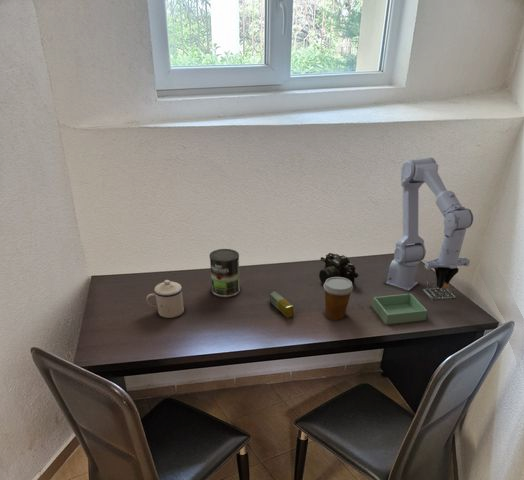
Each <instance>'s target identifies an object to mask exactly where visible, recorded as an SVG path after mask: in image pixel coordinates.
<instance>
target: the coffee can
mask: <svg viewBox="0 0 524 480" xmlns="http://www.w3.org/2000/svg"><path fill="white" fill-rule="evenodd" d="M209 262H210V277H211V292H212V294H213V295H214V296H217V297H221V298H229V297H230V298H231V297H234V296H236V295H238V294H239V293H240V290H241V289H240V288H241V287H240V254H239V252H238V251H237V250H234V249H232V248H219V249H215V250H212V251H211V252H210V253H209Z"/></svg>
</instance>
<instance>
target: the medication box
mask: <svg viewBox="0 0 524 480" xmlns="http://www.w3.org/2000/svg"><path fill="white" fill-rule="evenodd" d="M269 299H270V303H271V304H272V305H273V306H274V307H275V308H276V309H277V310H279V311H280V313H282V314H283V315H284V316H285V318H291V317H293V316H294V315H295V314H294V305H292V304H291V303H290V302H289V301H288V300H286V298H284V297H283V296H282V295H281V294H279V293H278V292H277V291H276V290H275V291H272V292H270V293H269Z"/></svg>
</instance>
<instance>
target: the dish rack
mask: <svg viewBox="0 0 524 480" xmlns="http://www.w3.org/2000/svg"><path fill="white" fill-rule="evenodd" d="M429 285H430V288H429ZM433 285H434V281H431V284H430V281H427V284H426V288H423V289H422V292H423V293H424V294H425V295H426V296H427V297H429V298H430V300H431V301H432V302H433V301H445V300H456V299H457V296H456V295H455V293H456V289H454V290H453V293H452V289H449V286H450V285H449V284H447V283H446V282H445V281H444V283H443V286H442V288H438V287H437V283H436V284H435V287H433ZM434 292H435V293H436V294H435V293H434Z"/></svg>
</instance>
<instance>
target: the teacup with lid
mask: <svg viewBox="0 0 524 480" xmlns="http://www.w3.org/2000/svg"><path fill="white" fill-rule="evenodd" d="M151 297H155V301H156V304H155V303H152V302H151V301H150V298H151ZM146 303H147V304H148V306H150V307H152V308H157V313H158V315H159V316H160V317H163V318H167V319H172V318H177V317H179V316H181V315H182V314H183V313H184V311H185V308H184V299H183V286H182V285H181V284H180V283H178V282H176V281H171V280H170V279H164V281H163V282H160V283H158V284H157V285H155V287H154V290H153V293H149V294H147V296H146Z"/></svg>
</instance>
